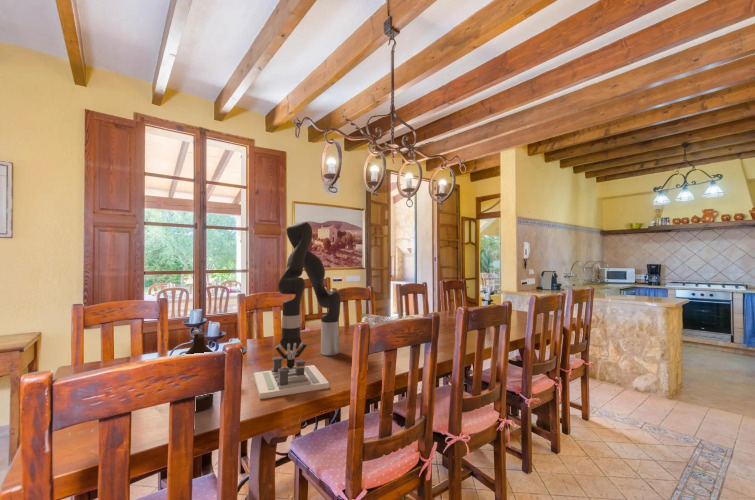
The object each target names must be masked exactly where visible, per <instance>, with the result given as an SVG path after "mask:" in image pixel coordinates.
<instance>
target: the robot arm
mask: <svg viewBox="0 0 755 500" xmlns="http://www.w3.org/2000/svg"><path fill="white" fill-rule="evenodd" d="M312 228H313V227H312V225H310V223H309V222H308V221H304V222H303V221H302V222H298V223H295V224H290V225H288V226H287V227H286V235H287V238H288V241H289V242H290V244H291V246H292V247H293V250H292V251H291V253H290V254H289V256H288V259H287V262H286V268H285V271H284V272H283V274H282V276H281V277H280V279H279V280H278V284H277V287H278V289H277V290H278V291H279V293H280V294H282V295H295V296H294V297H293V298H292V299H291V298H290V299H287V300H284V301H283V303H282V317H281V318H282V319H281V339H280V343H279V344H278V345H275V346H274V349H275V350H276V352H278V354H279V355H280V356H281V357H282V359H286V367H288V368H289V369H291V368H293V367H294V366H295V359H296V358H299V357H300V356H301V354H302V353H303V351H304V350H305V349H306V347H307V344H306V343H305V342H302V338H301V326H302V325H301V324H302V323H301V320H302V319H301V301H302V297H303V293H304V291H305V286H306V282H305V280H304V279H303V278H302V277H301V276H302V275H303V271H305V273H306V275H307V277H308V280H309V282H310V284H311V286H312V289H313V292H314V294H315V297H316V299H317V300H316V301H317V302H318V305H319V306H320V307H321V308H324V309H328V312H327V313H326V314H323V315H321V319H320V327H321V328H320V354H321V355H322V356H335V355H339V354H340V339H341V338H340V335H339V318H340V314H341V295H340V293H339V292H338V291H334V290H327V289H326V286H325V285H324V279H325V275H326V270H325V267H324V264H323V263H322V260H321V259H320V258H319V256H317V254H315V253H313V252H312V251H310V250H309V247H310V244H311V242H312V240H313V229H312ZM282 348H283V349H284V350H285V353H286V354H285V353H284V351H282V350H283V349H282Z"/></svg>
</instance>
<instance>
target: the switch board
mask: <svg viewBox="0 0 755 500" xmlns="http://www.w3.org/2000/svg"><path fill="white" fill-rule="evenodd" d="M271 358H272V359H271V360H272V362H273V363H272V368H271V369H270V370H266V371H265V370H264V371H256V372H253V378H254V379H253V381H254V382H255V383H254V384H255V387H256V391H257V395H258V398H259V400H261V399H269V398H273V397H274V398H276V397H281V396H287V395H294V394H299V393H301V394H302V393H306V392H314V391H319V390H325V389H329V388H330V382H329V381H328V380H327V379H326V377H325V376H324V375H323V374H322V373H321V372H320V370H319V369H318V368H317V367H316V366H315V365H314V364H311V365H304V366H305V368H304V375H299V376H296V366H295V365H294V367H293V368H291V369H289V368H288V367H287V366H286V367H282V361H283V357H282V356H281V355H280V356H273V357H271Z"/></svg>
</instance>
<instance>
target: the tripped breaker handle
mask: <svg viewBox="0 0 755 500" xmlns="http://www.w3.org/2000/svg"><path fill="white" fill-rule="evenodd" d="M305 364H306V361H305V359H304V358H303V359H302V358H301V359H296V360H295V361H294V366H296V376H299V375H304V368H305V366H306V365H305Z"/></svg>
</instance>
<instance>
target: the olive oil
mask: <svg viewBox="0 0 755 500" xmlns="http://www.w3.org/2000/svg"><path fill="white" fill-rule="evenodd" d="M192 341H193V343H192V346H191V347H190V348H189V349H188V350H187V351H186V352H185V353H184V354H194V353H204V352H213V350H212V349H211V348H209V347H208V346H207V345H206V344H205V332H195V333H193V340H192ZM213 353H214V352H213ZM213 402H214V393H213V394H207V395H203V396H198V397H196V412H195V413H199V412H203V411H206V410H208V409H209V408H211V407H212V406H213Z"/></svg>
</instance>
